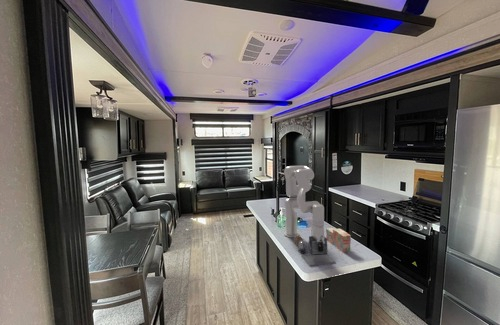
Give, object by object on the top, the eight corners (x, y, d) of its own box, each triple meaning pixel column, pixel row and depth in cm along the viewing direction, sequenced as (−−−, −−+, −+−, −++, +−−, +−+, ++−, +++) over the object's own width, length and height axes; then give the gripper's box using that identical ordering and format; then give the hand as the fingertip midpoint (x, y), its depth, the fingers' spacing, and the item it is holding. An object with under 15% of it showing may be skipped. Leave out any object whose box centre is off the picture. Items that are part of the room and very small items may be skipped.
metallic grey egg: (297, 250, 158) (297, 241, 158) (302, 249, 160) (302, 240, 160) (301, 253, 154) (301, 243, 153) (307, 252, 156) (307, 242, 156)
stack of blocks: (326, 239, 175) (326, 224, 174) (333, 238, 177) (333, 224, 175) (342, 252, 154) (343, 235, 153) (350, 251, 156) (350, 234, 155)
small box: (324, 249, 149) (324, 235, 148) (327, 254, 143) (327, 239, 142) (308, 250, 149) (308, 235, 148) (311, 255, 142) (311, 240, 141)
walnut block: (294, 243, 170) (294, 237, 170) (300, 242, 171) (300, 236, 171) (296, 246, 165) (296, 240, 165) (303, 245, 166) (303, 239, 166)
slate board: (301, 255, 151) (301, 254, 151) (325, 252, 154) (325, 251, 154) (309, 266, 138) (309, 264, 138) (335, 262, 142) (335, 261, 141)
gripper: (307, 219, 152) (307, 243, 153) (319, 228, 135) (319, 256, 136) (317, 218, 153) (317, 242, 155) (330, 227, 136) (330, 254, 138)
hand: (318, 248), depth 146 cm, fingers closed on small box, 6 cm apart
